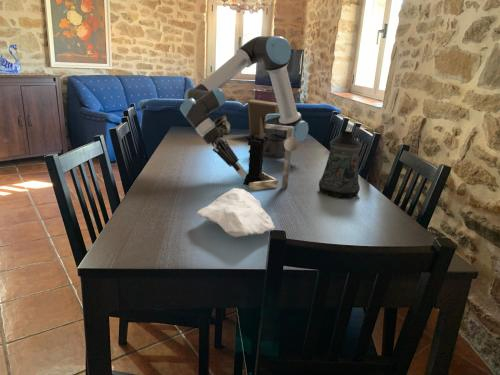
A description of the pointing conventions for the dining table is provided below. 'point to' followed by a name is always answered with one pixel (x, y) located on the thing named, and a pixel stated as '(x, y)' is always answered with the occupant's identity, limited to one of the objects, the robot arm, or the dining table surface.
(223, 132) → the hollow geode rock
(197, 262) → the dining table surface
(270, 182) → the centring cradle
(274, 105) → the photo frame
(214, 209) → the white rock
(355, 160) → the beer stein
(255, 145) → the chess piece
